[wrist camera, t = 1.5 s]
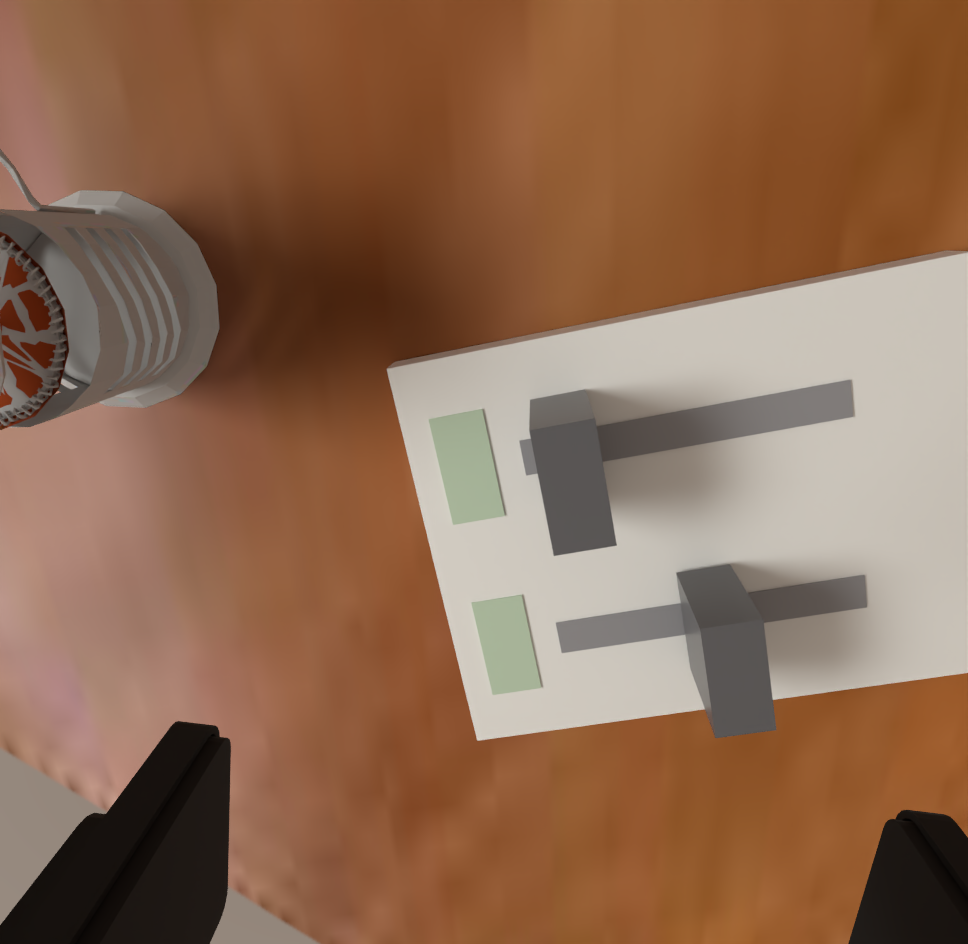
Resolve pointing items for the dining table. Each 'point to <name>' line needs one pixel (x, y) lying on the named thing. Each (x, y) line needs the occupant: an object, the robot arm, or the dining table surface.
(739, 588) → the handle
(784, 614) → the white slider control panel
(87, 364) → the french press
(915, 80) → the dining table surface
